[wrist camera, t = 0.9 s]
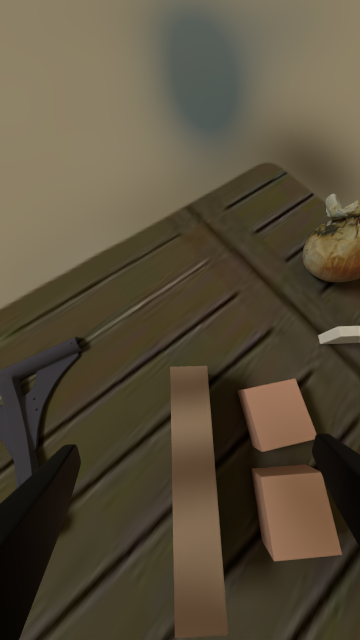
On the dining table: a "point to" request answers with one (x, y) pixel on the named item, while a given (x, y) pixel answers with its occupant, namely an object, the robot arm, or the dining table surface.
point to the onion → (335, 244)
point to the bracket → (30, 403)
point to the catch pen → (341, 335)
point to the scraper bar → (195, 509)
